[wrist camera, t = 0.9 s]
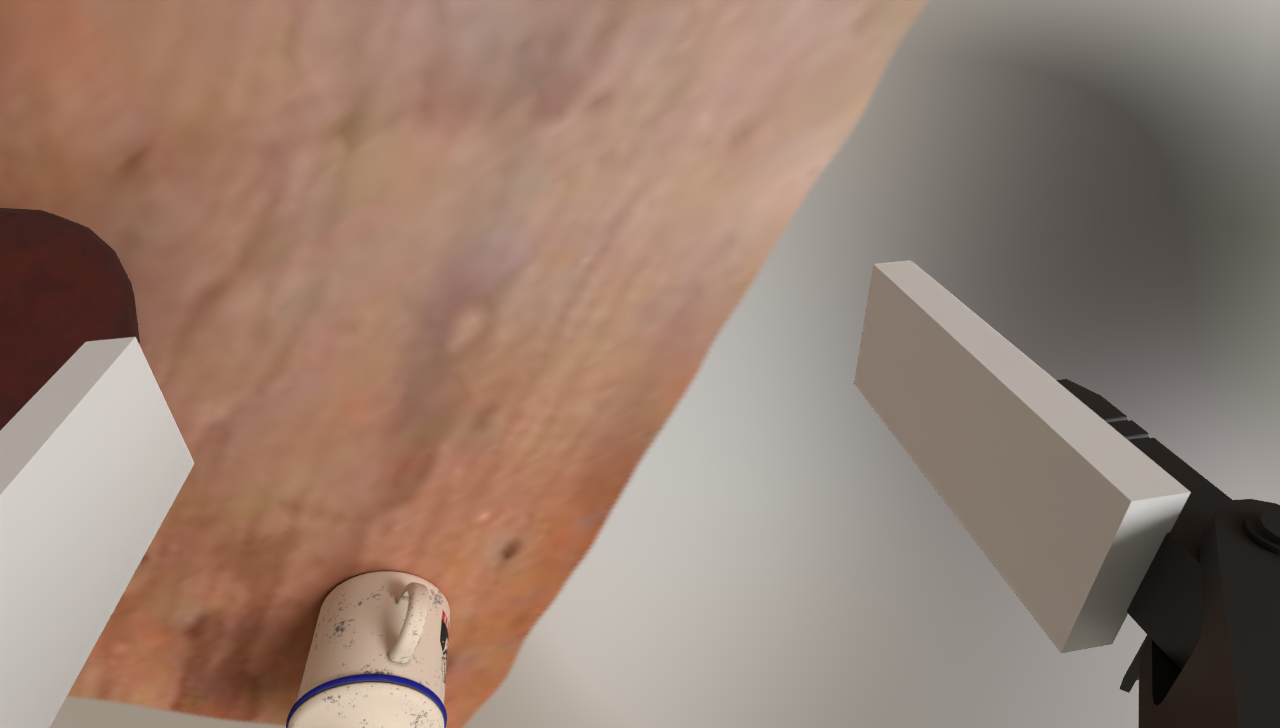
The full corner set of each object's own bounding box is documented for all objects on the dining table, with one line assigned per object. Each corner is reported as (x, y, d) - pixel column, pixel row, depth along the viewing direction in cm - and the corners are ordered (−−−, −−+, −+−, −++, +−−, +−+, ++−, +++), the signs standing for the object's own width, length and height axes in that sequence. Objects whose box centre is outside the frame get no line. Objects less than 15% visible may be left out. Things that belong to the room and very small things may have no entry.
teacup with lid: (424, 665, 53) (408, 830, 44) (298, 639, 50) (250, 813, 40) (492, 556, 49) (491, 712, 39) (359, 519, 46) (321, 681, 36)
